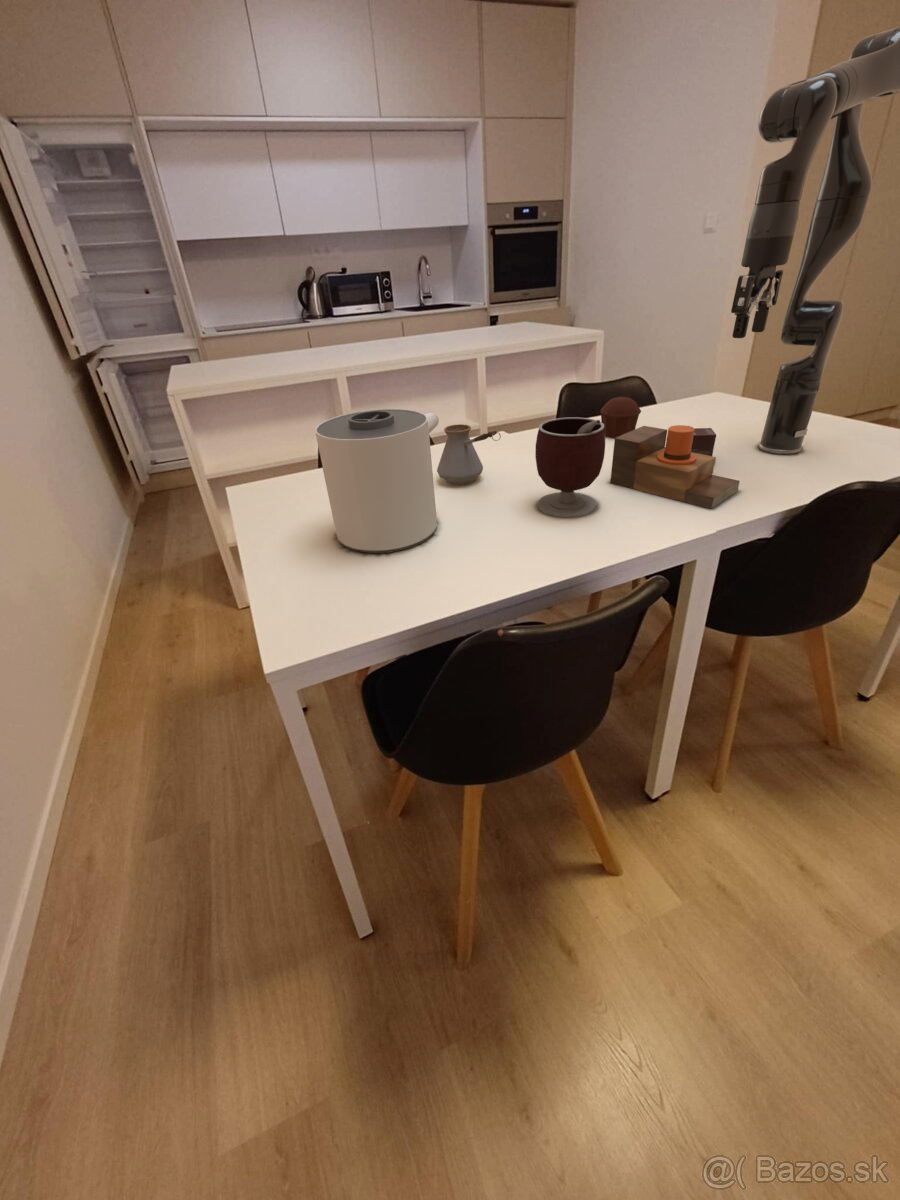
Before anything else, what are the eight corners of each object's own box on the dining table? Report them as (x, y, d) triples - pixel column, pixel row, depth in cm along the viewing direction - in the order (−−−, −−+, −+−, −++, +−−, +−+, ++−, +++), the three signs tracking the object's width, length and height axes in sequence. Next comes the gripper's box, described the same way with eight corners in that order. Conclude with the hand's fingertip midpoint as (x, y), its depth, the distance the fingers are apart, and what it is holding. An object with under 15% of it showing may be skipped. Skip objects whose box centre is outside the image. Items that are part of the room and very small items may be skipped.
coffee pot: (429, 479, 134) (423, 419, 125) (466, 468, 138) (463, 409, 130) (478, 504, 118) (475, 437, 110) (518, 491, 123) (518, 426, 115)
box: (710, 465, 128) (717, 434, 124) (684, 465, 130) (689, 435, 126) (706, 456, 133) (711, 427, 129) (680, 456, 135) (685, 427, 131)
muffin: (596, 428, 160) (599, 394, 155) (634, 427, 158) (638, 392, 153) (600, 440, 150) (603, 404, 145) (641, 439, 149) (645, 402, 143)
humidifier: (362, 507, 121) (344, 402, 109) (449, 511, 116) (441, 401, 103) (319, 550, 104) (292, 432, 92) (419, 558, 99) (404, 433, 86)
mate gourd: (522, 501, 118) (523, 409, 107) (575, 488, 122) (580, 398, 111) (561, 527, 106) (566, 426, 95) (618, 512, 110) (629, 413, 99)
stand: (638, 468, 130) (643, 425, 124) (737, 491, 114) (749, 443, 108) (610, 482, 123) (614, 438, 118) (711, 509, 108) (722, 458, 102)
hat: (668, 450, 120) (673, 421, 116) (703, 457, 115) (709, 427, 111) (649, 460, 116) (654, 430, 112) (684, 467, 110) (690, 436, 107)
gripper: (776, 234, 88) (752, 341, 97) (808, 231, 96) (783, 330, 105) (730, 238, 93) (712, 339, 102) (764, 234, 101) (744, 329, 109)
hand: (748, 334), depth 103 cm, fingers open, 8 cm apart
